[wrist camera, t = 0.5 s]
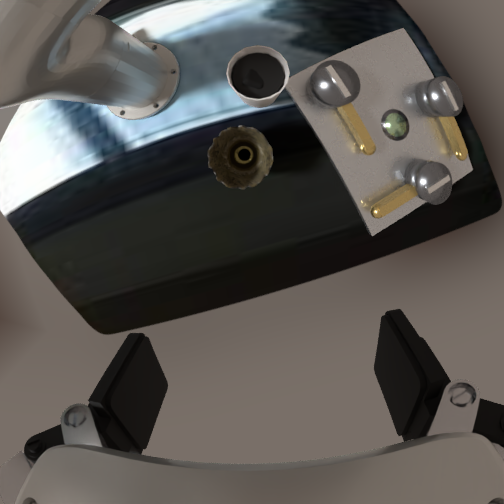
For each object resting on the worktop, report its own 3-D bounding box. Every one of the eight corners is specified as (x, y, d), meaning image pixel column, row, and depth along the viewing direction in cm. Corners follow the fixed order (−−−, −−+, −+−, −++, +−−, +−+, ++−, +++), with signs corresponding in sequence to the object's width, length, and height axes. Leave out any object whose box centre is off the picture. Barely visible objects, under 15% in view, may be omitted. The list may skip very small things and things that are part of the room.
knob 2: (426, 152, 35) (446, 155, 30) (439, 186, 37) (459, 193, 32) (357, 193, 38) (371, 202, 33) (374, 227, 40) (389, 240, 35)
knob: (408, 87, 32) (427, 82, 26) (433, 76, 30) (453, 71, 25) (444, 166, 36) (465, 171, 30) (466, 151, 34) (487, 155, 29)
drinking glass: (272, 117, 36) (276, 109, 27) (227, 101, 35) (216, 88, 26) (289, 77, 34) (298, 58, 24) (245, 61, 33) (240, 37, 24)
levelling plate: (280, 83, 34) (281, 81, 33) (399, 30, 29) (403, 27, 27) (368, 233, 42) (372, 236, 40) (467, 168, 37) (473, 169, 35)
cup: (280, 165, 39) (284, 171, 31) (234, 189, 40) (227, 200, 33) (255, 119, 36) (253, 114, 29) (208, 144, 38) (196, 145, 30)
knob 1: (297, 80, 33) (303, 71, 27) (333, 62, 31) (344, 51, 26) (349, 163, 37) (363, 167, 31) (382, 144, 35) (399, 146, 30)
